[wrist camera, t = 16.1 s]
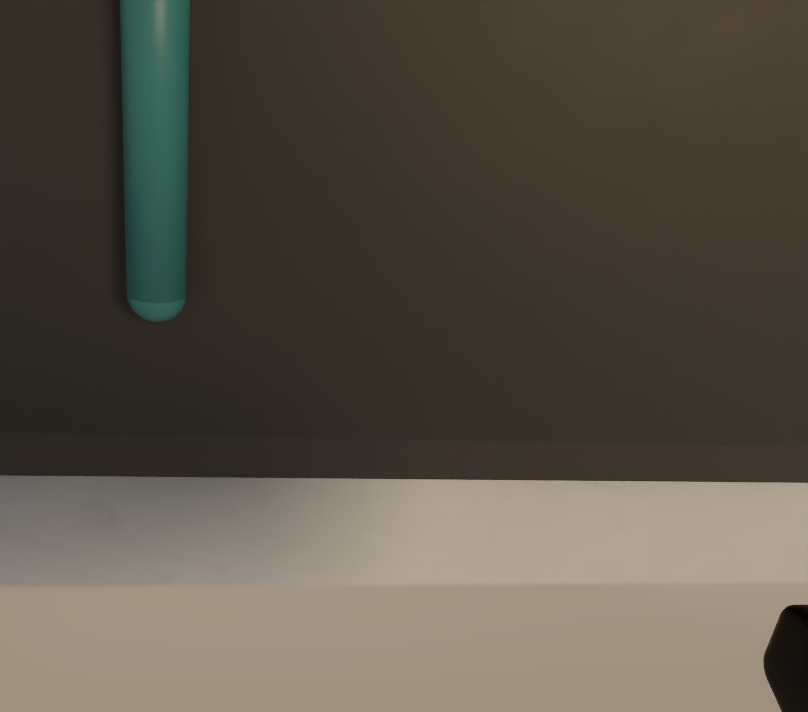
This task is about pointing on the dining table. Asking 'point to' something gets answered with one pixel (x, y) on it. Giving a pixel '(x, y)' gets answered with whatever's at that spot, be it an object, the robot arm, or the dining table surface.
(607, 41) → the tablet
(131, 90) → the stylus
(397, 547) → the dining table surface
